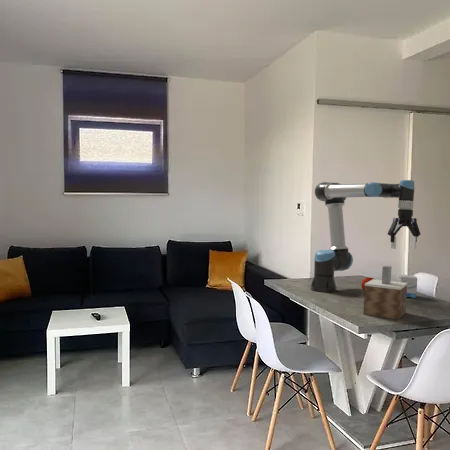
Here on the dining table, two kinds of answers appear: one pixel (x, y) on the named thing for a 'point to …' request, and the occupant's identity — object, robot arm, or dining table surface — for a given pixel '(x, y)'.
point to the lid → (386, 280)
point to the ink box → (410, 284)
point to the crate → (385, 302)
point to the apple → (365, 282)
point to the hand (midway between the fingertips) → (403, 248)
